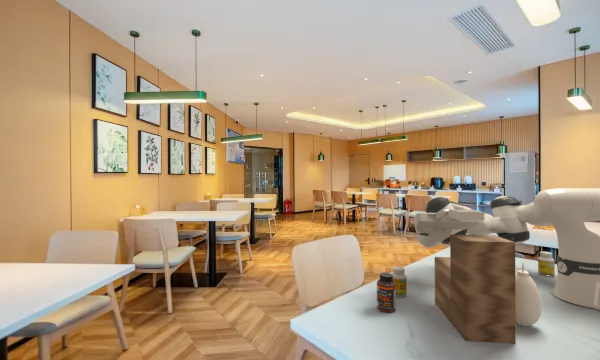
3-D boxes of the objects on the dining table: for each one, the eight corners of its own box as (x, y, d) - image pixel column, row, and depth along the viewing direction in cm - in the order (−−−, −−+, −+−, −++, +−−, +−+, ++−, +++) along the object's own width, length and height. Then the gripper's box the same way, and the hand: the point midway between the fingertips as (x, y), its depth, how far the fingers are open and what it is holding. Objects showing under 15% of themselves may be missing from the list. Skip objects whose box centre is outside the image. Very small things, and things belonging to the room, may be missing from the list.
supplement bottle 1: (375, 311, 87) (375, 276, 87) (377, 303, 92) (377, 270, 92) (395, 314, 85) (395, 278, 85) (395, 306, 90) (395, 272, 90)
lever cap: (458, 214, 94) (458, 207, 94) (484, 220, 78) (484, 212, 78) (437, 214, 95) (437, 206, 95) (458, 220, 79) (458, 211, 79)
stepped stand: (472, 306, 90) (472, 227, 90) (515, 343, 69) (515, 242, 69) (434, 304, 92) (434, 227, 92) (466, 340, 71) (465, 241, 71)
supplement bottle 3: (535, 272, 123) (534, 250, 123) (548, 272, 122) (548, 251, 122) (544, 276, 118) (543, 254, 118) (558, 277, 117) (558, 254, 117)
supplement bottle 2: (397, 290, 103) (397, 265, 103) (409, 295, 99) (409, 269, 99) (388, 293, 100) (388, 267, 100) (400, 298, 96) (400, 271, 96)
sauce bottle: (500, 317, 83) (499, 258, 83) (526, 317, 82) (526, 258, 83) (520, 331, 75) (519, 266, 75) (549, 332, 75) (548, 266, 75)
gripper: (470, 235, 100) (489, 221, 88) (412, 234, 102) (423, 220, 90) (465, 219, 103) (483, 203, 91) (409, 218, 105) (420, 203, 93)
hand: (453, 211), depth 90 cm, fingers closed on lever cap, 3 cm apart
